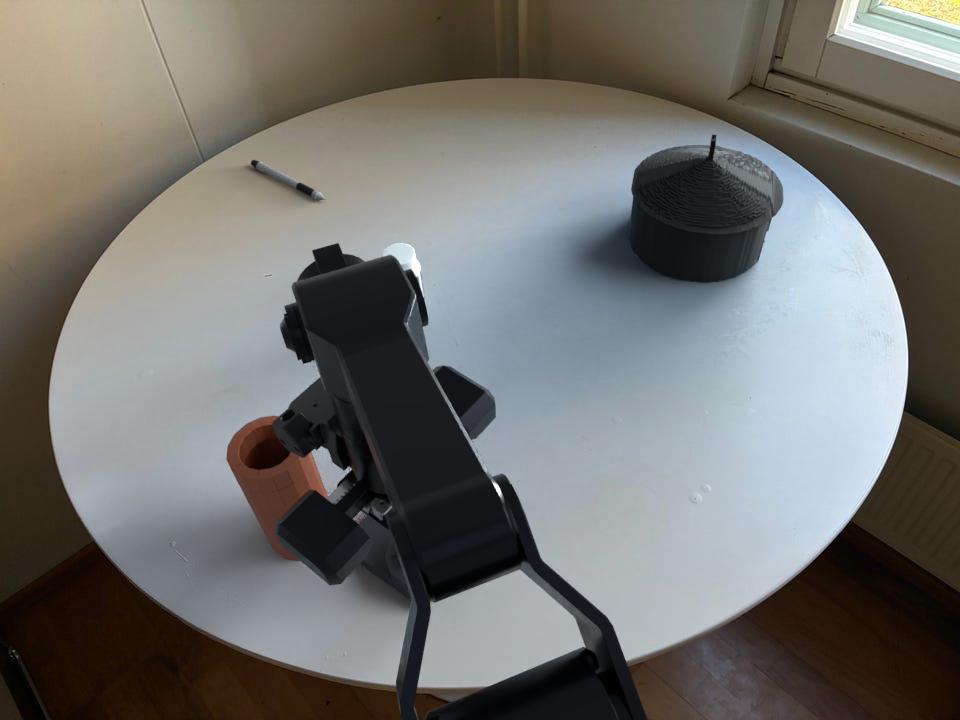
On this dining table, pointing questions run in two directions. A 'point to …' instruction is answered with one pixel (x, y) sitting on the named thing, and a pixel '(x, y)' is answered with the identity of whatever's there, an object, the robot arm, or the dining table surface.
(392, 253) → the pill bottle
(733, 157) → the hut
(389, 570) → the scale
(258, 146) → the dining table surface
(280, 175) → the pen
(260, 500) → the jar
